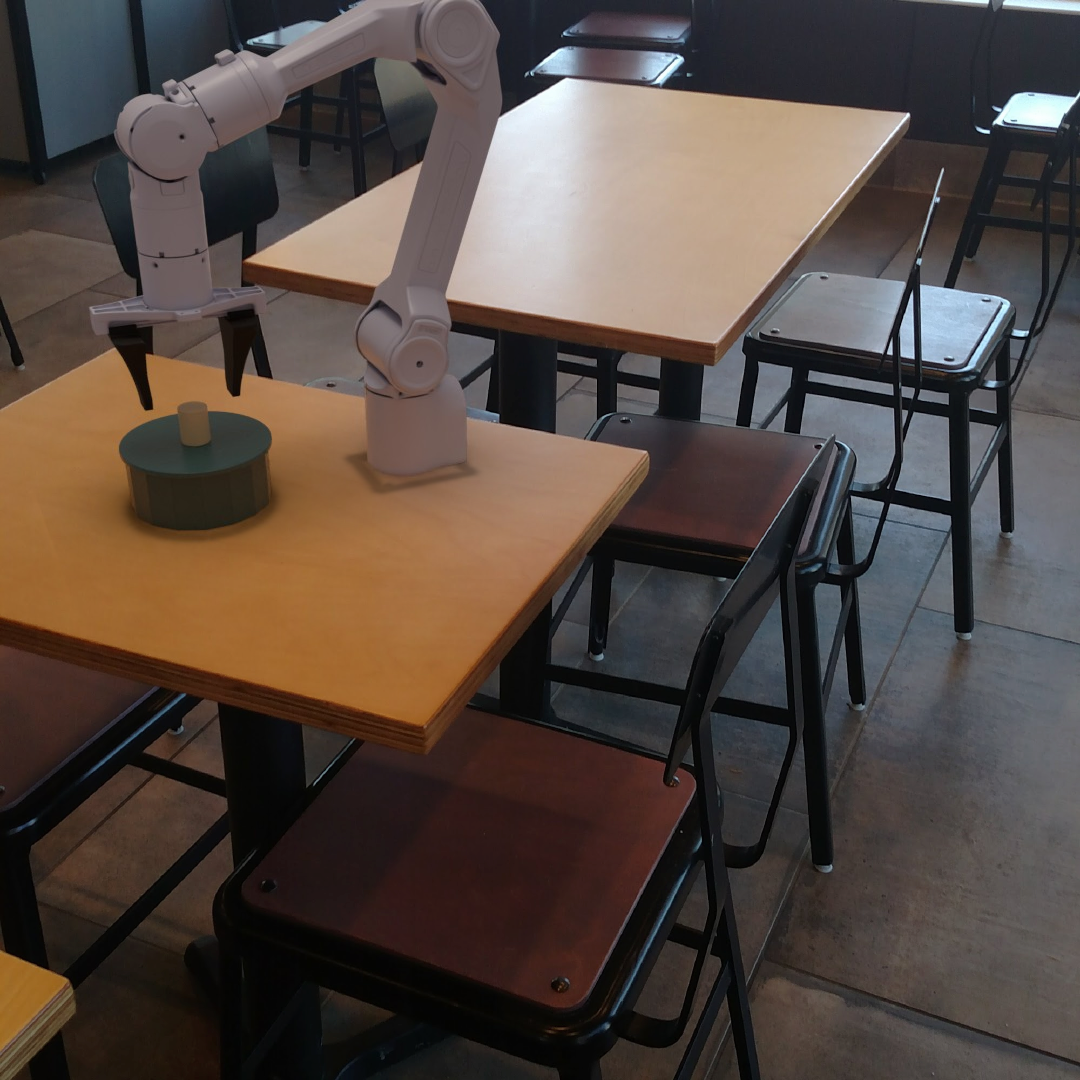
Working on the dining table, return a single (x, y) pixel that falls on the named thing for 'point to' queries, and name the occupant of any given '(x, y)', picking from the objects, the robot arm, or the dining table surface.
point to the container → (201, 497)
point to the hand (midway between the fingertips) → (190, 399)
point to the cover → (195, 443)
